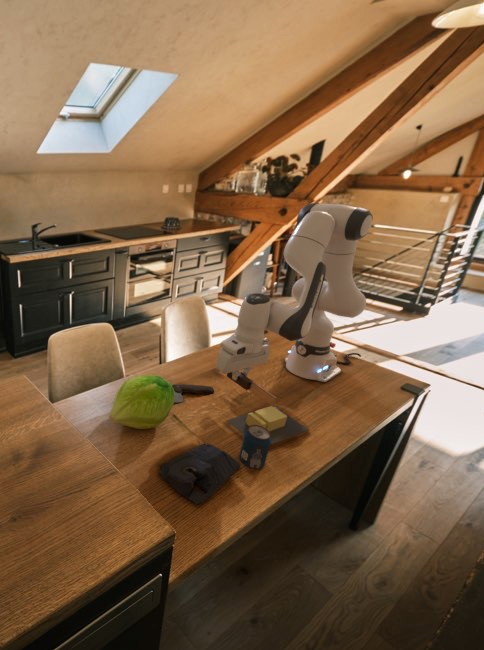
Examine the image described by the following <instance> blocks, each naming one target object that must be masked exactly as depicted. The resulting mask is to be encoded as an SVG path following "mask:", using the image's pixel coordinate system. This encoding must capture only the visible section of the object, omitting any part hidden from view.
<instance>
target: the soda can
mask: <svg viewBox="0 0 484 650" xmlns="http://www.w3.org/2000/svg"><path fill="white" fill-rule="evenodd" d="M270 444H271V437H270V432H269V431H268V430H267V429H266V428H264V427H262V426H259V425H251V426H250V427H249V428H248V429H247V430H246V431H245V435H243V438H242V443H241V447H240V451H239V455H238V458H239V461H240V462H241V463H242V465H244V466H245V467H247V468H249V469H252V470H262V469H263V468H264V467H265V465H266V460H267V457H268V454H269V450H270V447H271V445H272V444H271V445H270Z"/></svg>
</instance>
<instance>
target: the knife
mask: <svg viewBox="0 0 484 650" xmlns="http://www.w3.org/2000/svg"><path fill="white" fill-rule="evenodd" d="M237 374H238V375H240V377H239V379H238V380H234V379H232V375H233V374H232V372H230V373H226V377H227V378H228V379H230V380H231V381H233V382H234V383H235V384H237V385H238V386H239V387H241V388H243V390H245V391H250V392H251V393H252V394H254V395H255V396H256V397H258V398H260V399H261V400H262V401H264V402H265V403H267V404H268V405H269V406H272V407H274V406H276V401H277V396H275V395H273V394H272V393H270V392H269V391H268V390H266V389H265V388H263V387H262V386H260V385H259V384H257V383H256V382H254V381H253V380H252V379H251V378H249V377H248V376H247V377H246V376H245V375H243V374H242V373H241V371H239V372H237Z"/></svg>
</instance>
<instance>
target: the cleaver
mask: <svg viewBox="0 0 484 650" xmlns="http://www.w3.org/2000/svg"><path fill="white" fill-rule="evenodd" d="M171 385H172V387H173V389H174V392H175V394H174V404H176V403H185V400H184V397H183V395H182V393H189V394H195V395H197V394H198V395H199V394H207V395H214V394H215V389H214V387H213V386H209V385H202V384H201V385H200V384H171Z"/></svg>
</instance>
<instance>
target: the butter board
mask: <svg viewBox="0 0 484 650" xmlns="http://www.w3.org/2000/svg"><path fill="white" fill-rule="evenodd" d="M252 413H253V414H255V415H256V416H257V417H259V418H260V419H261V420H263V421H264V422H265V423H266V427H265V428H266V429H267V430H268V431H269V432H270V437H271V444H270V446H271V445H274V444H276V443H278V442H281V441H284V440H287V439H289V438H292V437H295V436H297V435H300V434H303V433H305V432H308V431H309V428H307V427H306V426H305V425H303V424H302V423H300V422H299V421H298V420H295V419H294V418H293V417H291V416H290V415H289V414H287V413H286V412H284V411H283V410H282V409H280V408H279V407H278V406H276V405H274V407H272V406H271V405H269V406H266V407H263V408H260V409H257V410H254V411H252ZM247 416H248V413H245V414H242V415H238V416H236V417H232V418H230V419H227V420H226V422H228V423H229V424H230V425H231V426H232V427H234V429H236V430H237V431H238V432H239V433H240V434H242V435H243V436H244V435H245V431H246V430H247V429H248V428H249V427H250V426H249V425H248V424H246V420H247Z"/></svg>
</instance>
